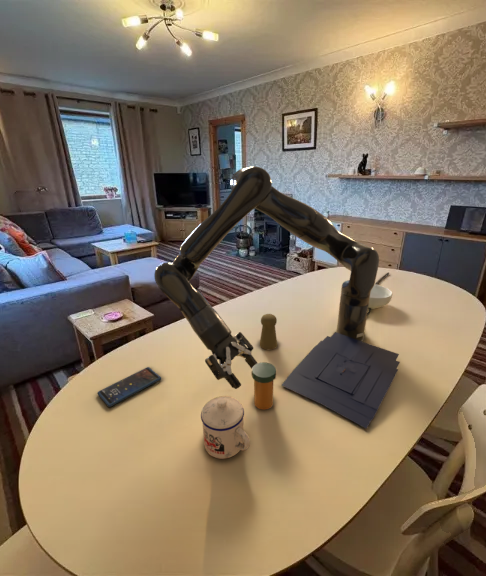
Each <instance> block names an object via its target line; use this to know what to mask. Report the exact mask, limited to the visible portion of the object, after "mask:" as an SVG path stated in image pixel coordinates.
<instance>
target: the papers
mask: <svg viewBox="0 0 486 576" xmlns="http://www.w3.org/2000/svg"><path fill="white" fill-rule="evenodd" d="M399 355H400V354H399V353H397V352H394V351H391V350H388V349H385V348H382V347H379V346H376V345H373V344H371V343H367V342H364V341H363V342H362V341H359V340H356V339H353V338H351V337H348V336H345V335H342V334H339V333H337V331H335V332H334V333H333V334H332V335H331V336H329V335H326V337H325V338H324V339H322V340H320V341H319V342H318V343H317V344H315V346H314V347H313V348H312V349H311V350H310V351H309V352H308V353H307V354H306V355H305V357H304V358H302V360H301V361H299V363H298V364H297V365H296V366H295V368H293V370H291V372H289V374H288V376H287V377H286V379H285V380H284V381H283V382H282V383H281V387H284V388H286V389H288V390H290V391H292V392H294V393H296V394H299V395H301V396H303V397H305V398H308V399H310V400H312V401H314V402H316V403H318V404H320V405H322V406H324V407H326V408H328V409H329V410H331V411H333V412H335V413H337V414H338V415H341V416H342V417H344V418H346V419H348V420H350V421H352V422H353V423H355V424H356V425H359V426H360V427H362V428H364V429H368V427H369V426H370V424H371V422H372V421H373V419H374V418H375V416H376V414H377V412H378V410H379V408H380V407H381V404H382V403H383V401H384V399H385V397H386V396H387V393H388V391H389V389H390V387H391V385H392V383H393V382H394V379H395V377H396V375H397V373H398V371H399V369H398V367H399V365H400V363H401V361H398V360H397V359H398V358H399Z"/></svg>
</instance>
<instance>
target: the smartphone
mask: <svg viewBox="0 0 486 576" xmlns="http://www.w3.org/2000/svg"><path fill="white" fill-rule="evenodd" d="M161 380H162V377H161V376H160V375H159V374H158V373H156V371H154V370H153V369H152V368H150V366H146V367H145V368H143V369H141V370H139V371H136V372H134V373H133V374H131V375H129V376H126V377H125V378H123V379H120V380H118V381H117V382H115V383H112V384H110V385H109V386H106V387H104V388H103V389H101V390H98V391H97V393H96V394H97V395H98V397H99V398H100V399H101V400H102V401H103V402H104V404H105V405H106V406H107V407H108V408H111V407H114V406H115V405H117V404H119V403H121V402H123V401H124V400H125V399H128V398H130V397H132V396H133V395H135V394H137V393H140V392H141V391H143V390H145V389H146V388H149V387H150V386H152V385H154V384H155V383H156V384H157V382H159V381H161Z"/></svg>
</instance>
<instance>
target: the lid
mask: <svg viewBox="0 0 486 576" xmlns="http://www.w3.org/2000/svg"><path fill="white" fill-rule="evenodd" d="M250 373H251V377H252V379H253V381H254V380H255V381H257V382H259V383H269V382H272V381H273V382H274V380H275V379H276V377H277V368H276V367H275V365H274V364H272V363H270V362H265V361H260V362H257V364H255V365H254V366H253V367H252V369H251V372H250Z"/></svg>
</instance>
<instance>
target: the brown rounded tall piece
mask: <svg viewBox="0 0 486 576" xmlns="http://www.w3.org/2000/svg"><path fill="white" fill-rule="evenodd" d="M277 319H278V318H277V317H276V315H275V314H272V313H265V314H263V315H262V316H261V317H260V324H261V333H260V339H259V347H260V348H261V349H263V350H266V351H271V350H275V349H276V348H277V347H278V339H277V332H276V331H277V330H276V325H277V321H278V320H277Z"/></svg>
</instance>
